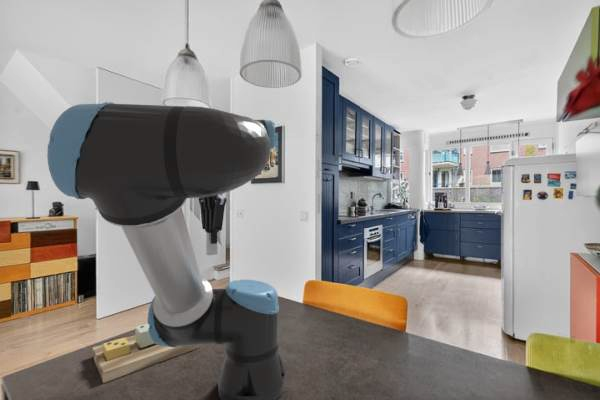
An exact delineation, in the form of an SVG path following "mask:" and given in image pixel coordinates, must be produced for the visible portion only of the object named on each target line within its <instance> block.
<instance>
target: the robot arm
mask: <svg viewBox="0 0 600 400" xmlns="http://www.w3.org/2000/svg"><path fill="white" fill-rule="evenodd" d="M275 147H276V122H275V121H273V120H268V119H267V120H266V119H253V118H251V117H249V116H245V115H239V114H236V113H233V112H229V111H224V110H219V109H215V108H209V107H203V106H192V105H186V106H181V105H155V104H152V105H151V104H129V103H127V104H126V103H114V102H112V101H106V102H103V103H80V104H75V105H73V106H70V107H68V108H67V109H66V110H64V111H63V112H62V113H61V114H60V115H59V116H58V118H57V119H56V121H55V122H54V124H53V125H52V128H51V130H50V134H49V141H48V144H47V151H46V152H47V153H46V154H47V165H48V166H47V167H48V171H49V174H50V176H51V179H52V182H53V184H54V185H55V186H56V188H57V189H58V190H59V191H60V192H61V193H63V195H66V196H67V197H72V198H75V199H77V200H85V199H87V198H88V199H90V200H92V201H93V204H94V206H95V208H96V209H97V211H98V212H99V214H100V216H101V217H102V218H103V220H104V221H106V222H107V223H109V224H110V225H113V226H117V227H121V229H122V230H123V233H124V235H125V237H126V239H127V241H128V243H129V245H130V247H131V249H132V251H133V253H134V255H135V257H136V260H137V262H138V263H139V266H140V267H141V269H142V271H143V273H144V275H145V277H146V280H147V282H148V283H149V286H150V288H151V290H152V292H153V294H154V297H153V299H152V300H151V301H150V302H151V303H150V306H149V308H148V314H147V323H148V324H149V329H148V330H149V334H150V337H151V339H152V340H153V341H154V343H156V344H157V345H160V346H168V347H178V346H190V345H200V346H206V345H209V346H210V345H225V346H226V348H225V350H226V352H225V353H226V355H225V358H224V361H223V364H222V367H221V371H220V374H219V377H218V380H217V381H218V382H217V387H218V388H217V391H218V392H217V393H218V396H219V399H220V400H278V399H279V398H280V397H281V396H282V395H283V393H284V392H285V391H286V390H285V389H286V379H287V378H286V370H285V368H284V364H283V362H282V358H281V356H280V352H279V311H280V305H279V297H278V296H279V295H278V291H277V290H276V288H275V287H274V286H273V285H272V284H270V283H267V282H263V281H260V280H256V279H255V280H254V279H239V280H237V279H235V280H232V281H230V282H228V283H227V285H226V287H225V288H213V287H212V285H211V284H210V282H209V281H208V280H207V279H206V278H205V277H203V276H202V275H201V273H200V269H199V265H198V262H197V258H196V255H195V250H194V248H193V243H192V240H191V237H190V233H189V229H188V226H187V223H186V219H185V215H184V212H183V209H182V207H183V206H184V204H185V203H186V201H187V199H198V202H199V207H200V217H201V227H202V228H201V229H202V230H204V231H205V234H206V235H205V236H206V237H205V238H206V242H205V243H206V244H205V245H206V250H205V251H206V254H205V255H206V256H212V255H218V233H219V232H220V231H222V230H223V224H224V223H223V222H224V216H225V215H224V214H225V207H226V204H227V200H228V199H227V197H223V196H222V195H223V194H226V193H228V192H232V191H234V190H236V189H238V188H240V187H242V186H244V185H246V184H247V183H249V182H250V181H253V180H254V179H255V178H257V177H258V176H259V175H260V174H261V173H262V172H263V171H264V170H265V168H266V167H267V165H268V163H269V160H270V156H271V150H273V149H274V148H275Z"/></svg>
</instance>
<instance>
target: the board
mask: <svg viewBox="0 0 600 400" xmlns="http://www.w3.org/2000/svg"><path fill="white" fill-rule="evenodd" d="M125 338H126V339H127V341H128V342H129V344H130V354H128V355H125V356H122V357H119V358H116V359H113V360H110V361H107V362H106V361H105V359H104V357H103V344H100V345H97V346H94V347H92V358H93V362H94V363H95V366H96V368H97V371H98V373H99V376H100V378H101V380H102V383H103V384H105V383H108V382H110V381H113V380H115V379H118V378H121V377H124V376H126V375H130V374H132V373H134V372H137V371H140V370H143V369H145V368H148V367H151V366H153V365H156V364H159V363H161V362H164V361H165V362H166V361H167V360H170V359H172V358H175V357H177V356H180V355H183V354H186V353H189V352H190V351H194V350H196V349H199V348H200V346H201V345H190V346H178V347H168V346H160V345H157V344H156V343H154V344H151V345H148V346H145V347H142V348H140V347H139V345H138V344H137V343H136V341H135V334H134V335H132V336H127V337H125Z"/></svg>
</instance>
